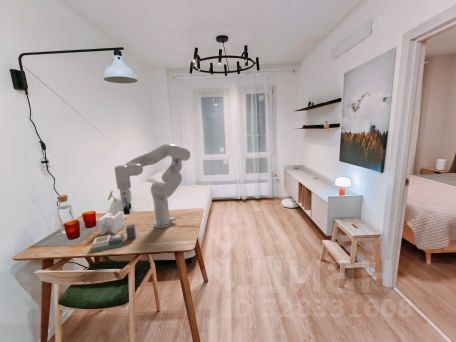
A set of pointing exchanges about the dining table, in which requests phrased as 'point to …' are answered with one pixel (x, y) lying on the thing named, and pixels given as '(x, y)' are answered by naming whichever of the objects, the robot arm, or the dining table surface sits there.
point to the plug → (131, 232)
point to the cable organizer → (111, 223)
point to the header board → (107, 242)
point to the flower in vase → (115, 205)
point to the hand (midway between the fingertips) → (127, 211)
